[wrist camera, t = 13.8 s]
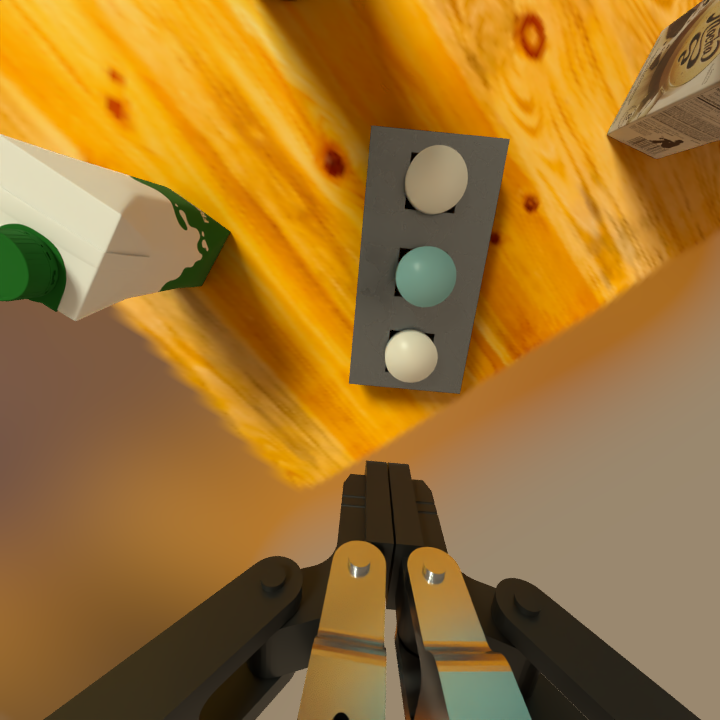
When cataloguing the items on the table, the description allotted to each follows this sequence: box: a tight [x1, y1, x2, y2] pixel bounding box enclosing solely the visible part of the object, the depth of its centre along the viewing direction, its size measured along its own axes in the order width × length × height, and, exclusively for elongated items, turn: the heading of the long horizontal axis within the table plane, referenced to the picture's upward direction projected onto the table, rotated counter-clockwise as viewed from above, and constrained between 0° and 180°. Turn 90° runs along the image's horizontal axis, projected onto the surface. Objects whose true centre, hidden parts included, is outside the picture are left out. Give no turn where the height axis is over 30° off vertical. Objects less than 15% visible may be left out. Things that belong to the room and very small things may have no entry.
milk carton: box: [0, 134, 230, 321], centre depth 28 cm, size 9×9×20 cm
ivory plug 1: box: [405, 145, 468, 215], centre depth 32 cm, size 5×5×6 cm
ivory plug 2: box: [385, 329, 438, 383], centre depth 37 cm, size 5×5×6 cm
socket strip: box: [349, 126, 510, 394], centre depth 36 cm, size 24×12×5 cm, turn 175°
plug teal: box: [395, 246, 456, 307], centre depth 33 cm, size 5×5×6 cm
